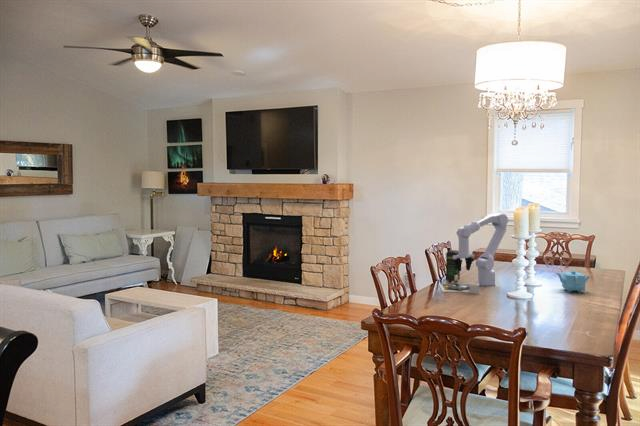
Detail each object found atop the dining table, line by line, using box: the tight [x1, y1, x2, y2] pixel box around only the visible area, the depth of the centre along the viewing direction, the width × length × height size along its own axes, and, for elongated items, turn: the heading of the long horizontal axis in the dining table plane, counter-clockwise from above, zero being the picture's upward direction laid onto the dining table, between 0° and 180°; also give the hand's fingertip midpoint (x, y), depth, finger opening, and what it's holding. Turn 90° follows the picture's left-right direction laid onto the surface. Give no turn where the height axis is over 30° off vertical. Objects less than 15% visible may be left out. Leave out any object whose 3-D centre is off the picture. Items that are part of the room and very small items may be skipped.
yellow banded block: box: [468, 283, 480, 295], centre depth 287 cm, size 5×3×5 cm, turn 84°
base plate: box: [438, 284, 469, 293], centre depth 299 cm, size 19×19×1 cm
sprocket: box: [442, 275, 470, 291], centre depth 299 cm, size 16×17×6 cm
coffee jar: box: [445, 249, 461, 282], centre depth 327 cm, size 10×8×19 cm
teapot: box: [555, 270, 591, 294], centre depth 289 cm, size 16×18×11 cm
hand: (463, 270), depth 306 cm, fingers open, 6 cm apart
